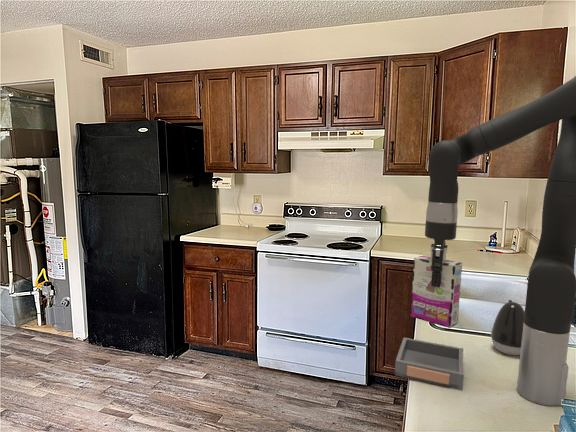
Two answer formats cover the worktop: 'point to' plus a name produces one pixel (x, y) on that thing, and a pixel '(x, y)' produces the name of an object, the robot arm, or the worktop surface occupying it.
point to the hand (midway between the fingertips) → (436, 283)
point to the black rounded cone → (508, 328)
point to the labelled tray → (430, 363)
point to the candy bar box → (436, 292)
